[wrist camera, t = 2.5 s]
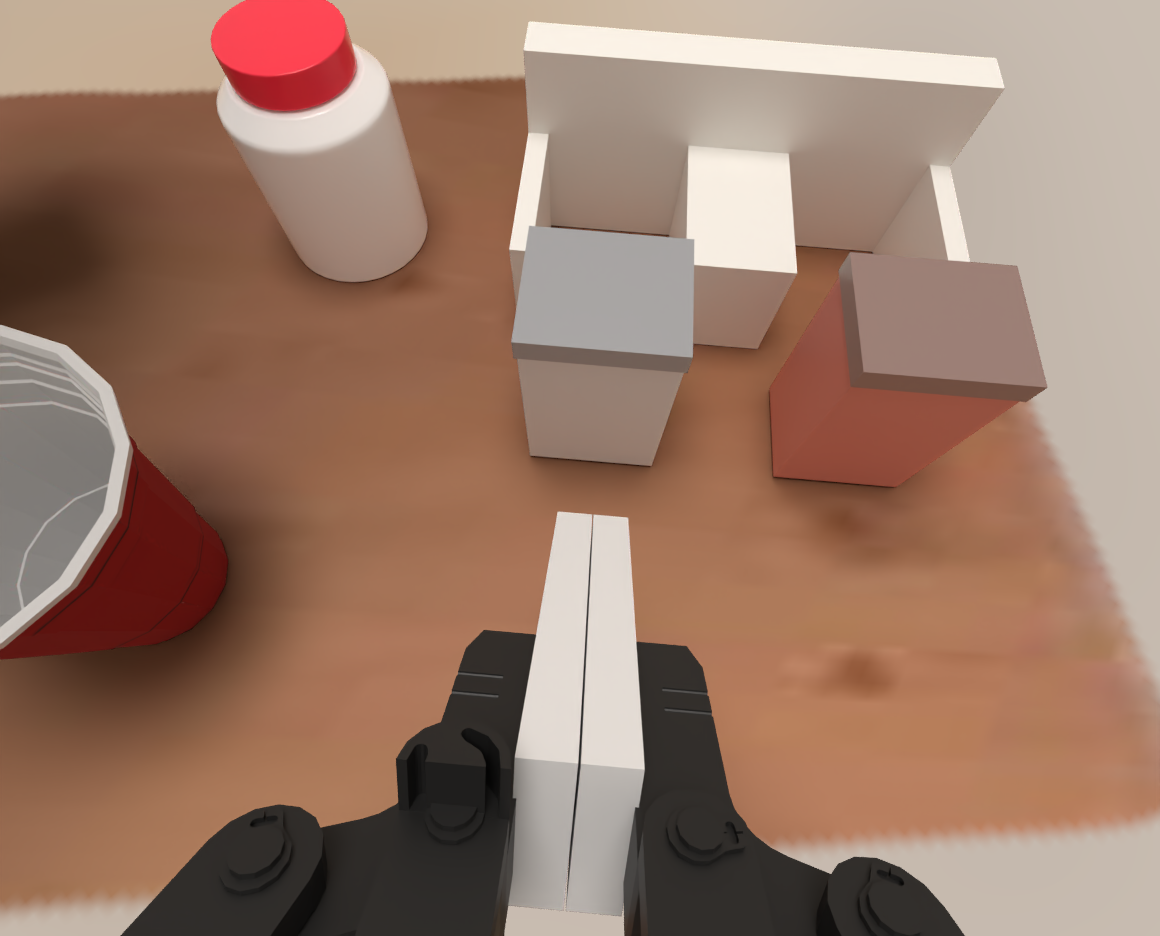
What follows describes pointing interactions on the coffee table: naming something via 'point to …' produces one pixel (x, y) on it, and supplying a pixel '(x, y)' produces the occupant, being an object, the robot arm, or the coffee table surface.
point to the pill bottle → (319, 136)
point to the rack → (746, 154)
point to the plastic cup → (88, 517)
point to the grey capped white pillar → (602, 341)
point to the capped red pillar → (901, 368)
